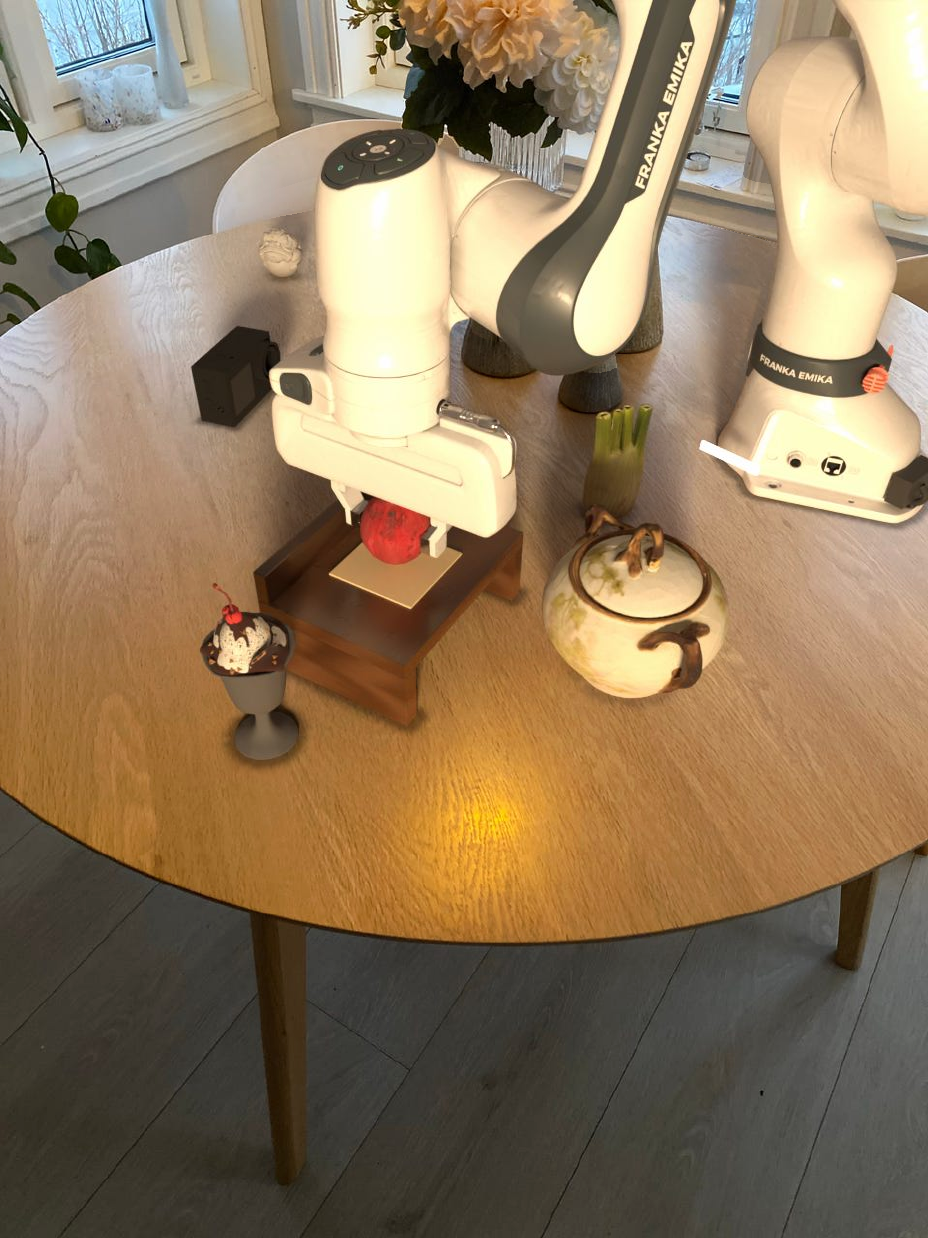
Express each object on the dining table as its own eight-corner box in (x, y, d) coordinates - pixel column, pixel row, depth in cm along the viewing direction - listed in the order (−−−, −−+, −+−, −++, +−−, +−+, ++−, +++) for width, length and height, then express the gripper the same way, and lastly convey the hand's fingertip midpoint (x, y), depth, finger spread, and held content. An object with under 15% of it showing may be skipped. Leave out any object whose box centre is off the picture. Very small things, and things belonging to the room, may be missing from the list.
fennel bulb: (636, 500, 99) (654, 397, 91) (638, 529, 95) (656, 424, 87) (580, 496, 99) (592, 393, 91) (579, 525, 96) (592, 420, 87)
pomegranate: (423, 590, 77) (421, 510, 72) (354, 580, 78) (347, 500, 73) (439, 545, 81) (438, 467, 76) (373, 536, 82) (368, 458, 77)
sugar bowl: (761, 729, 76) (810, 588, 66) (588, 773, 73) (612, 631, 63) (653, 575, 90) (680, 438, 80) (503, 606, 87) (511, 467, 77)
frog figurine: (255, 285, 135) (248, 235, 130) (270, 264, 140) (264, 216, 135) (296, 288, 134) (291, 239, 130) (310, 268, 139) (306, 219, 135)
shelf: (519, 592, 88) (526, 503, 81) (407, 727, 76) (403, 637, 69) (392, 542, 93) (388, 455, 86) (268, 661, 81) (252, 571, 74)
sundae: (226, 706, 77) (193, 564, 67) (310, 702, 78) (290, 560, 68) (218, 771, 73) (181, 629, 62) (307, 766, 73) (285, 624, 63)
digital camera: (244, 430, 107) (234, 374, 103) (201, 421, 109) (190, 365, 104) (285, 386, 115) (279, 332, 110) (245, 378, 116) (236, 324, 111)
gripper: (538, 404, 67) (526, 558, 76) (303, 332, 74) (319, 480, 84) (494, 447, 63) (487, 603, 72) (250, 366, 70) (273, 517, 80)
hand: (395, 536), depth 78 cm, fingers closed on pomegranate, 6 cm apart
